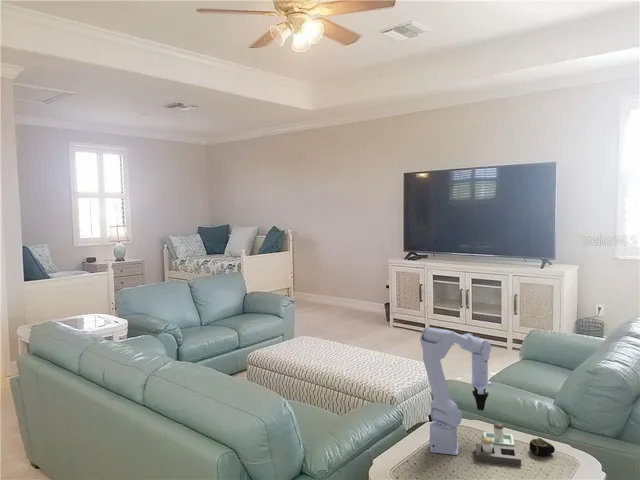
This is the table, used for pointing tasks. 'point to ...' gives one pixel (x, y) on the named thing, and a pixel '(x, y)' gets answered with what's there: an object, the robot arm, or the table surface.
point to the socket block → (499, 455)
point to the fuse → (487, 445)
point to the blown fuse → (498, 432)
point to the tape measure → (541, 447)
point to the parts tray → (507, 442)
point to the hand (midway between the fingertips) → (480, 405)
